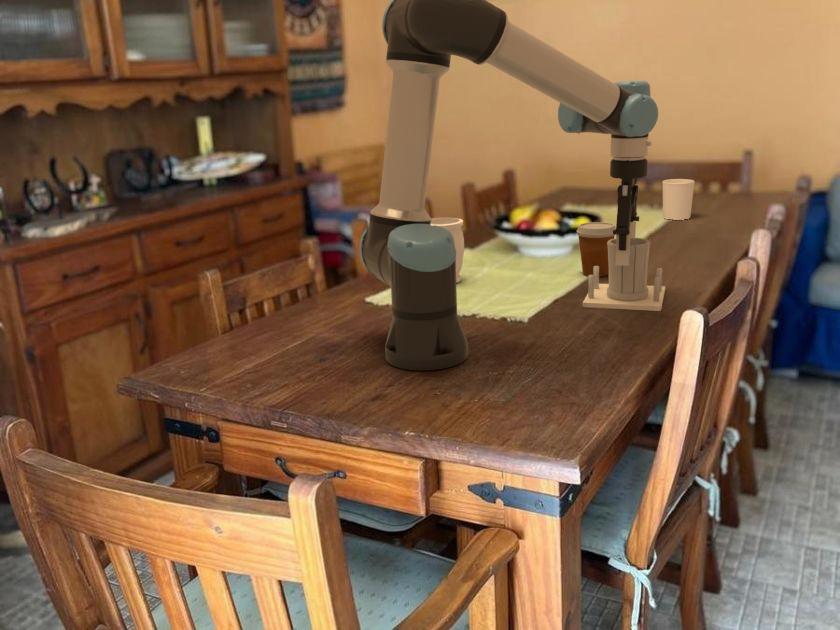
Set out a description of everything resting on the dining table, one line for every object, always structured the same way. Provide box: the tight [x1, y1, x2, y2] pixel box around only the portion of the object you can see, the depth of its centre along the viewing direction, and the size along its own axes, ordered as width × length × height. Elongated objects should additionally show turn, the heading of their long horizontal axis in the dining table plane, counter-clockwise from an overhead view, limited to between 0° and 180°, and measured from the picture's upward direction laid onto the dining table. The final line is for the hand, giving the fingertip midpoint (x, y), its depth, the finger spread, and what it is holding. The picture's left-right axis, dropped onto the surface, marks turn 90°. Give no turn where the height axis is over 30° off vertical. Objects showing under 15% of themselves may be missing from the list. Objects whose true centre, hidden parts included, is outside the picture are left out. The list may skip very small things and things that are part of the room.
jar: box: [430, 217, 465, 284], centre depth 197 cm, size 11×10×15 cm
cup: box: [607, 237, 651, 301], centre depth 175 cm, size 10×9×12 cm
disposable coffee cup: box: [576, 221, 616, 278], centre depth 197 cm, size 10×10×12 cm
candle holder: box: [661, 178, 695, 221], centre depth 260 cm, size 10×10×12 cm
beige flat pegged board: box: [582, 266, 666, 312], centre depth 176 cm, size 16×16×6 cm
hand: (625, 258), depth 175 cm, fingers open, 13 cm apart
